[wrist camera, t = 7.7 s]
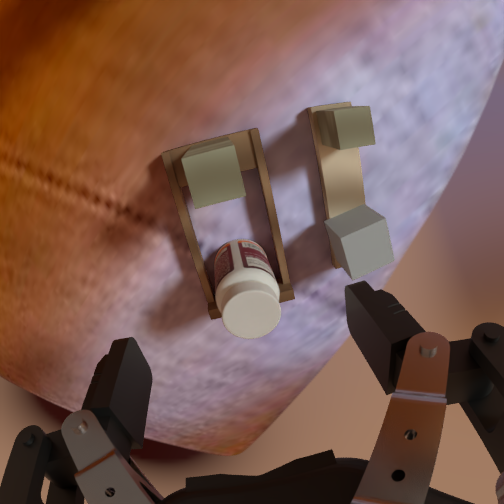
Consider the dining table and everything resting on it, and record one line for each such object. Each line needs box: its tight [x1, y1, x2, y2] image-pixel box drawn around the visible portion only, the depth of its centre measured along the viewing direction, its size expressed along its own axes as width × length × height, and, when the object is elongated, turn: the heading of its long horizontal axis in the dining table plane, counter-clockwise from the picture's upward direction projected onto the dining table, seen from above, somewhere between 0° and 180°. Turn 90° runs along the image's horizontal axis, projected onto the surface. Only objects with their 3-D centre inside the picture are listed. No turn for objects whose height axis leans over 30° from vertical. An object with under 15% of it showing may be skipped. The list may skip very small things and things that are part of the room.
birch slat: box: [307, 102, 375, 269], centre depth 25 cm, size 14×4×5 cm, turn 13°
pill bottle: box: [214, 239, 281, 339], centre depth 25 cm, size 5×5×8 cm
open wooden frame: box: [161, 128, 295, 320], centre depth 23 cm, size 14×8×9 cm, turn 13°
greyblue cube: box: [324, 204, 394, 280], centre depth 26 cm, size 4×4×4 cm
